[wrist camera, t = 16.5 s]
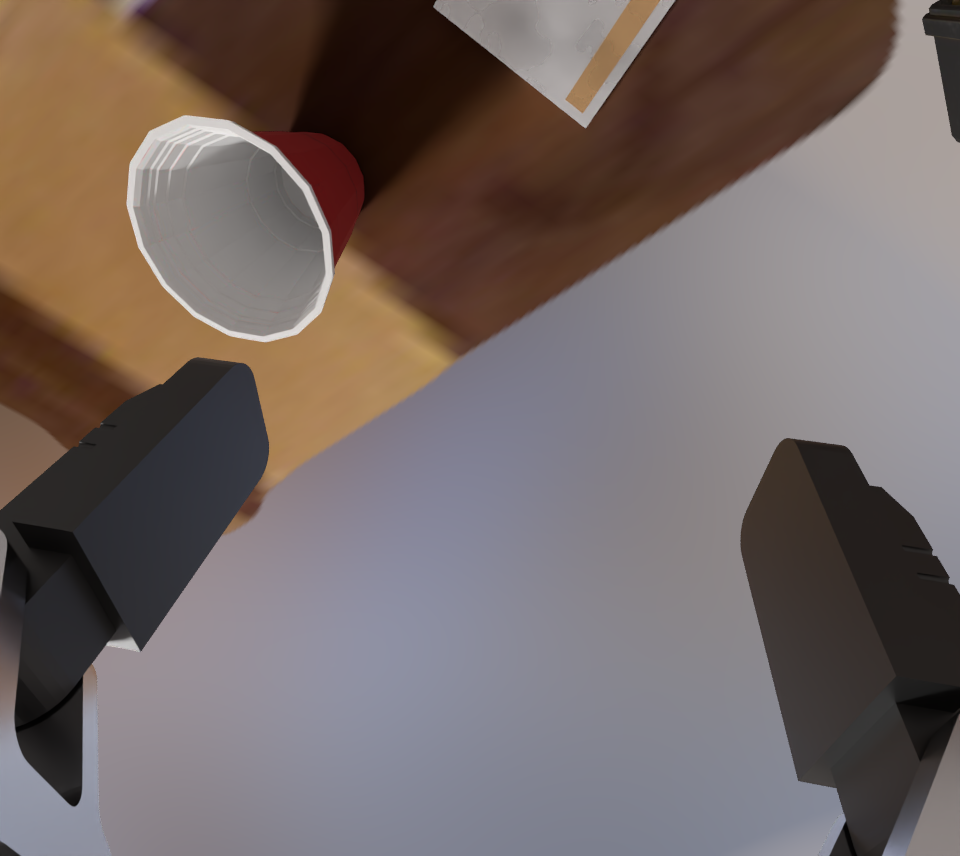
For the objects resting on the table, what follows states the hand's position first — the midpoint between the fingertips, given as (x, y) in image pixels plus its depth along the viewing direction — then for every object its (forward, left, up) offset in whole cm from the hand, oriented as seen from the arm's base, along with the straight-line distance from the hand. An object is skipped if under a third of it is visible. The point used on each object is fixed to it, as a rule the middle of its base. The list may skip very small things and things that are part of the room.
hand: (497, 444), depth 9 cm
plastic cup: (-11, -12, -30) cm, 34 cm away
